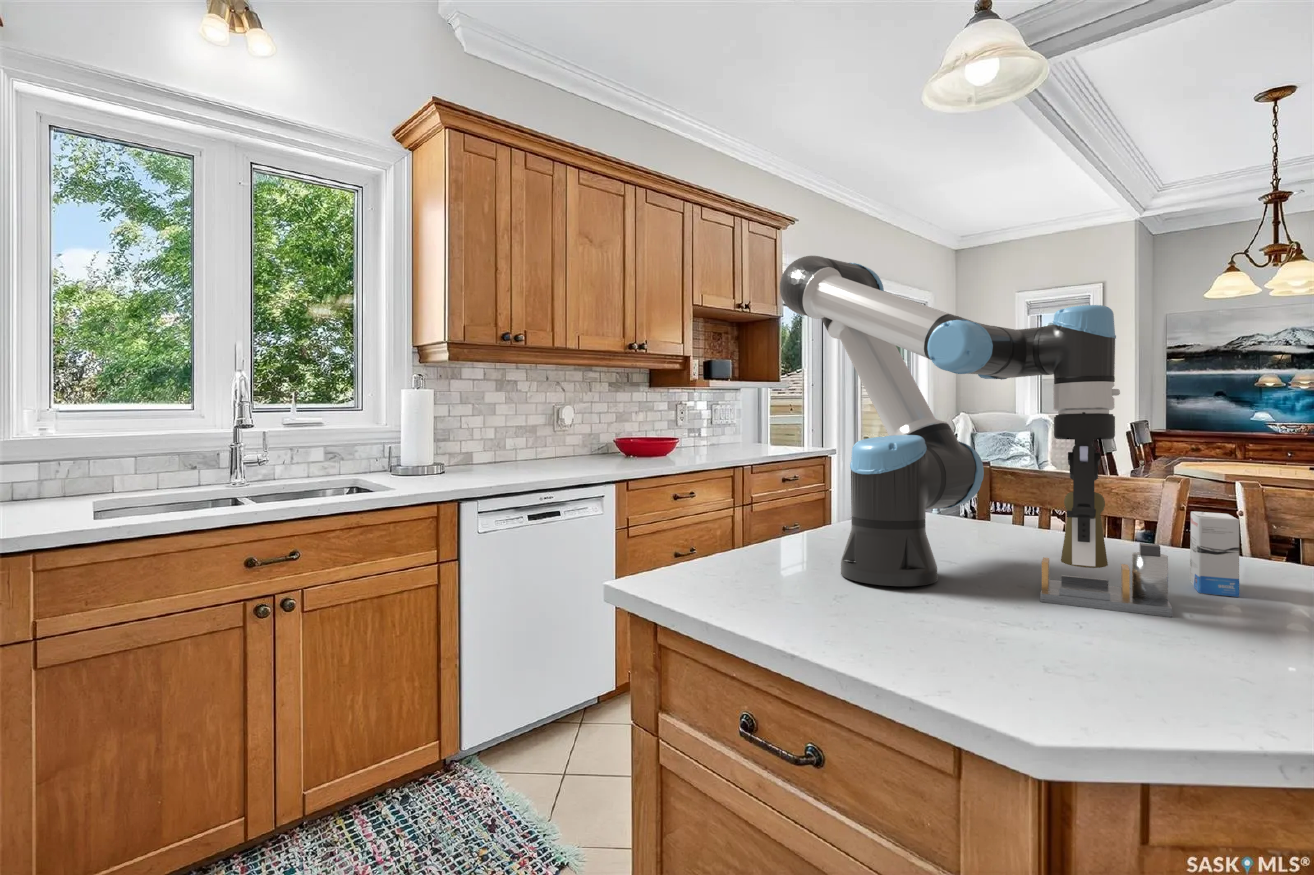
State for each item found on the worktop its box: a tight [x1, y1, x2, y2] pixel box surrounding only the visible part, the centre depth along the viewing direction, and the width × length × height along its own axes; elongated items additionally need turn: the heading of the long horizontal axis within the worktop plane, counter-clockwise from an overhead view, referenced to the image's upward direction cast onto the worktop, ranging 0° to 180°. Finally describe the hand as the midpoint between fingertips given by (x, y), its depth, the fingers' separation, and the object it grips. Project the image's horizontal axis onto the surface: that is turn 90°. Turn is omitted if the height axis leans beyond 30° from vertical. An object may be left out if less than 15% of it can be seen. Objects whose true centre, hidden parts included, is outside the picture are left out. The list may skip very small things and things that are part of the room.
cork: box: [1060, 491, 1109, 569], centre depth 99 cm, size 6×6×11 cm
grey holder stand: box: [1039, 542, 1173, 618], centre depth 95 cm, size 15×11×9 cm
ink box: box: [1189, 510, 1240, 598], centre depth 101 cm, size 8×5×12 cm, turn 148°
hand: (1083, 557), depth 96 cm, fingers open, 13 cm apart
